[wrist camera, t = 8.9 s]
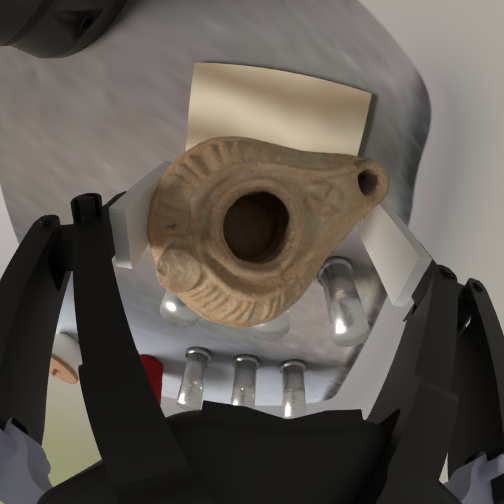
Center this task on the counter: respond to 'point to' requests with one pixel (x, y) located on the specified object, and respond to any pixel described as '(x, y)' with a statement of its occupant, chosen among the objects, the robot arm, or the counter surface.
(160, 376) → the plastic cup
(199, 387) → the posts
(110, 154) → the counter surface
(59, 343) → the lidded jar
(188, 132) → the ash board
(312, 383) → the counter surface
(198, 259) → the pottery oil lamp
